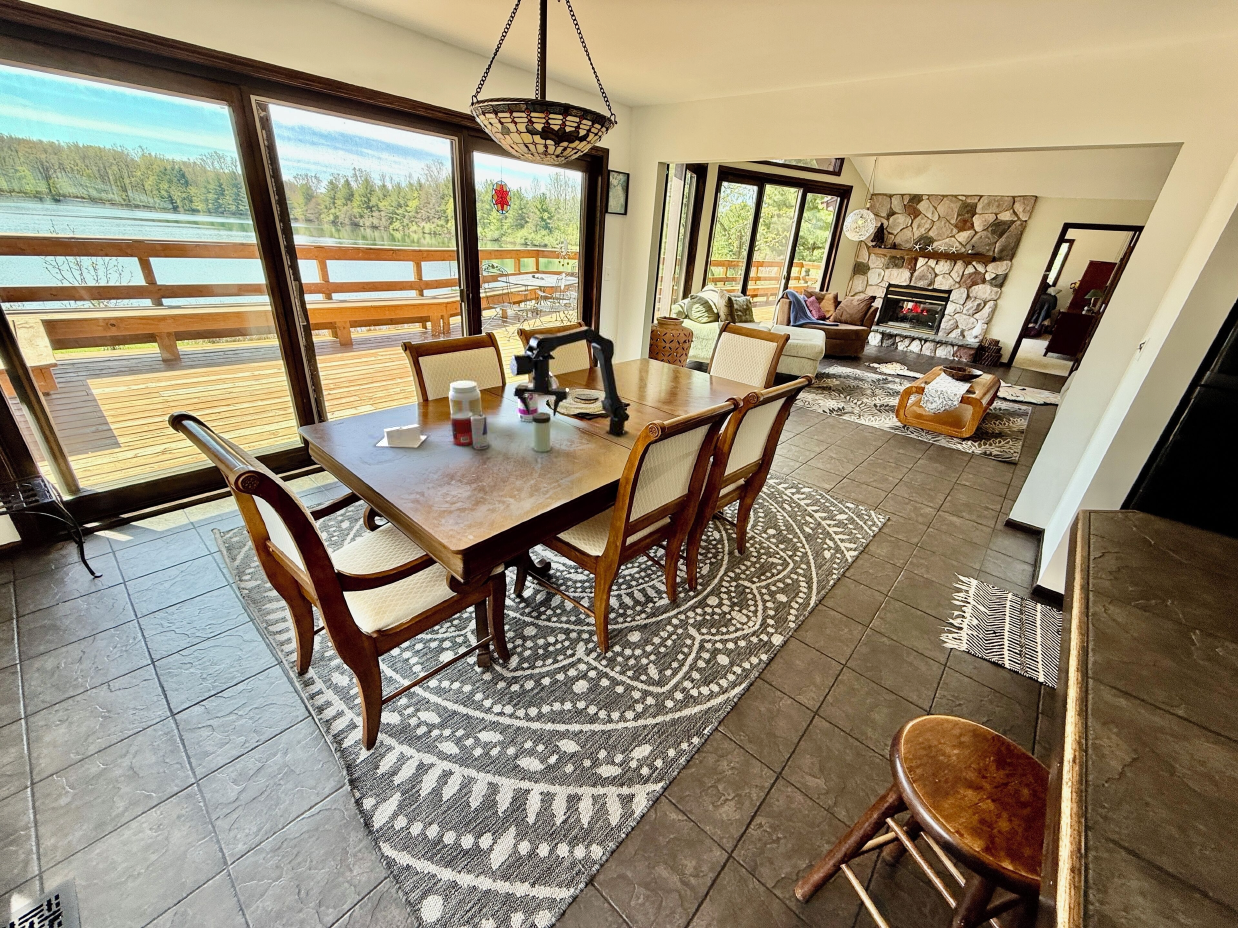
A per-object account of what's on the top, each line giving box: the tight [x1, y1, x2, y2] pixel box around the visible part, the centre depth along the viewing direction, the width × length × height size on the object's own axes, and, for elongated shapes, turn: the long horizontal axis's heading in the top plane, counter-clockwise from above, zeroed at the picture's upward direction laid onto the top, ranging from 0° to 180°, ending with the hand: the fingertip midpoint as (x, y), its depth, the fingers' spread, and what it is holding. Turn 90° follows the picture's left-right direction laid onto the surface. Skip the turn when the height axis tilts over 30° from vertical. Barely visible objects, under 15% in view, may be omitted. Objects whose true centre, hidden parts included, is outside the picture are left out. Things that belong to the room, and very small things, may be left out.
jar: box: [532, 421, 551, 453], centre depth 176 cm, size 6×6×13 cm
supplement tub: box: [448, 380, 483, 415], centre depth 194 cm, size 12×12×17 cm
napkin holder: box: [375, 423, 428, 448], centre depth 178 cm, size 15×11×6 cm
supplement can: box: [517, 382, 539, 423], centre depth 203 cm, size 8×8×15 cm
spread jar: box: [546, 371, 560, 393], centre depth 242 cm, size 12×11×12 cm
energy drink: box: [471, 413, 489, 450], centre depth 175 cm, size 5×5×12 cm
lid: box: [531, 411, 551, 423], centre depth 173 cm, size 7×7×2 cm
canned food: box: [450, 411, 473, 447], centre depth 178 cm, size 8×8×11 cm
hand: (541, 415), depth 173 cm, fingers open, 9 cm apart
